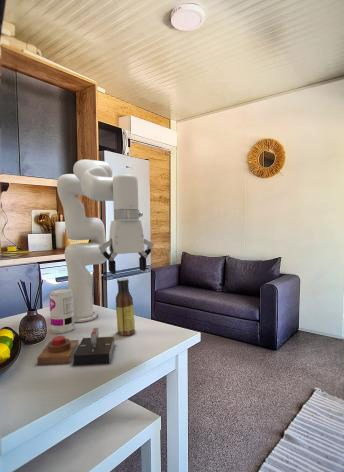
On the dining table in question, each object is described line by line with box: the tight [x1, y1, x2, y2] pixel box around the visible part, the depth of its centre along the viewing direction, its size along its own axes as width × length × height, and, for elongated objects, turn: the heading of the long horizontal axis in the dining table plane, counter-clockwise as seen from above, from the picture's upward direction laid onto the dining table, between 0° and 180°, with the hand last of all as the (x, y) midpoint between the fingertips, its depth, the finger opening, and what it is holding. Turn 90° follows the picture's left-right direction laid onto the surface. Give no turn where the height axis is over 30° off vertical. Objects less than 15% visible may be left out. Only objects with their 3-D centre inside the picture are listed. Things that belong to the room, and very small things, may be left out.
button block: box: [36, 338, 80, 366], centre depth 94 cm, size 12×9×4 cm
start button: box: [52, 335, 66, 345], centre depth 94 cm, size 4×4×2 cm
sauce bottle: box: [115, 277, 136, 336], centre depth 111 cm, size 7×6×20 cm
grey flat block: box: [90, 327, 100, 348], centre depth 93 cm, size 5×2×5 cm, turn 5°
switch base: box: [73, 336, 115, 366], centre depth 94 cm, size 13×10×3 cm
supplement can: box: [48, 288, 75, 334], centre depth 115 cm, size 8×8×15 cm
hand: (128, 271), depth 94 cm, fingers open, 9 cm apart
